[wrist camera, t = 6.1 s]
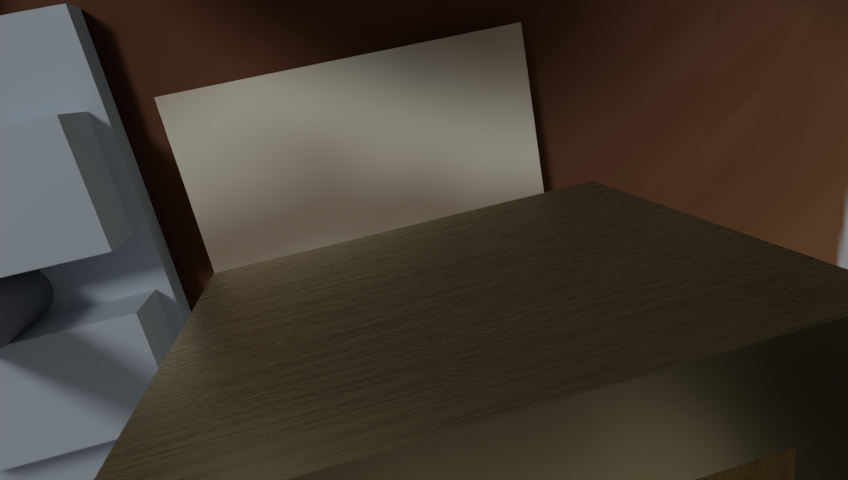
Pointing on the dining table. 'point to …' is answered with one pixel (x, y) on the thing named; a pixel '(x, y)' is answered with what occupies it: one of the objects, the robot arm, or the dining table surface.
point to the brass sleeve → (509, 356)
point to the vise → (72, 256)
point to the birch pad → (355, 145)
